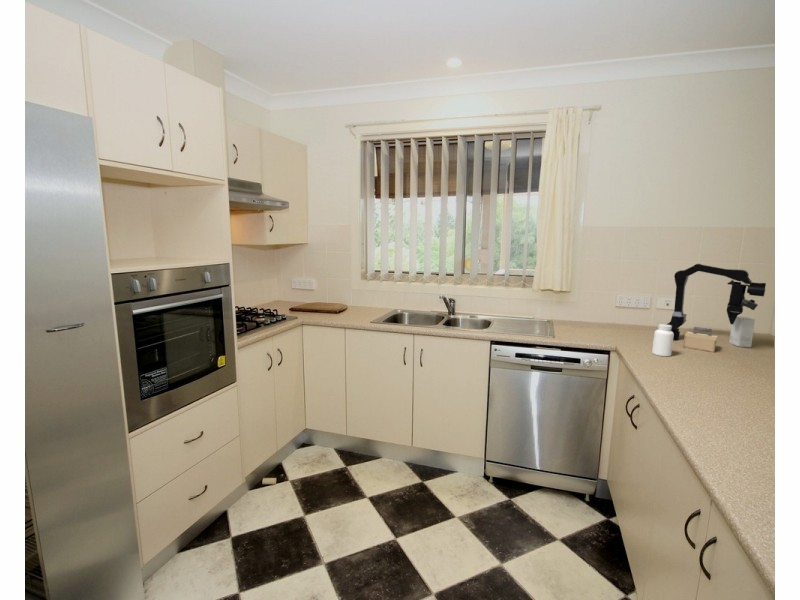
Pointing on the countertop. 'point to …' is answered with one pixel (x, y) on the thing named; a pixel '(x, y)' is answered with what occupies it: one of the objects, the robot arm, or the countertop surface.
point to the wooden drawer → (699, 344)
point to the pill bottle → (663, 340)
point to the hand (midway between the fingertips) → (731, 322)
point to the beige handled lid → (701, 336)
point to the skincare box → (742, 332)
